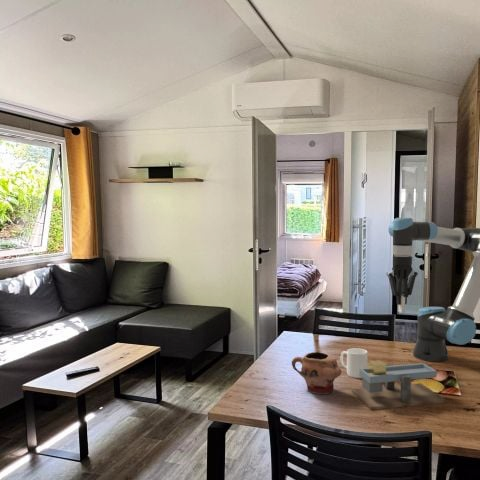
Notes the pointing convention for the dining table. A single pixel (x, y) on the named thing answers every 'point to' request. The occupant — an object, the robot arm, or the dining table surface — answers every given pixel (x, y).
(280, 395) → the dining table surface
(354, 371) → the cup
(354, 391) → the low stand
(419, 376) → the grey long tray
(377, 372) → the block
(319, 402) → the dining table surface
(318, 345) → the dining table surface
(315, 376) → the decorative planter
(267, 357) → the dining table surface
